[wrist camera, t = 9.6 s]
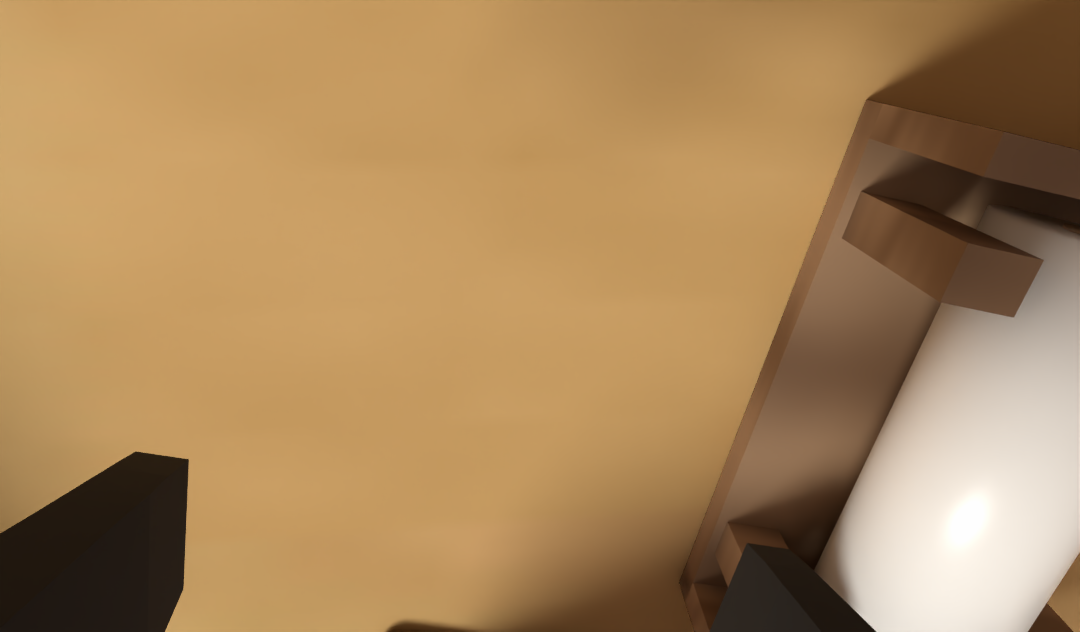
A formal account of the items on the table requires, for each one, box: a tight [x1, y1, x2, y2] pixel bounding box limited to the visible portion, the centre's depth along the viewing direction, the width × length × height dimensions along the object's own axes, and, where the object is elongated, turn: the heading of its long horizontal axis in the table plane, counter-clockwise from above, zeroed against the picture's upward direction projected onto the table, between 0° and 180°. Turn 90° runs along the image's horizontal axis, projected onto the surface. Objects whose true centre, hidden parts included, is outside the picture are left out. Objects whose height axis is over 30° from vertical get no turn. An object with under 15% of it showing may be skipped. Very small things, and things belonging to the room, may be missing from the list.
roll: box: [814, 205, 1080, 632], centre depth 17 cm, size 12×5×5 cm, turn 167°
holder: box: [679, 100, 1080, 632], centre depth 18 cm, size 15×10×5 cm, turn 167°
